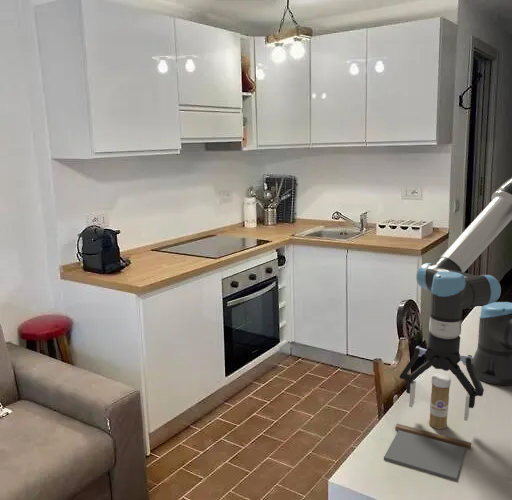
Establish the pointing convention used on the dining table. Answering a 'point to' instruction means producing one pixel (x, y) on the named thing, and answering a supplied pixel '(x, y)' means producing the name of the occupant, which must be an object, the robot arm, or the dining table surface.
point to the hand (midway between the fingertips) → (438, 411)
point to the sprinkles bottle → (439, 400)
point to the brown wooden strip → (434, 436)
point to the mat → (426, 454)
